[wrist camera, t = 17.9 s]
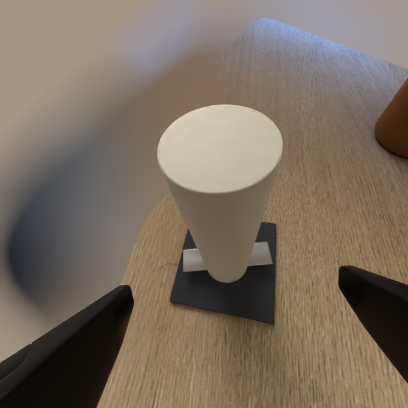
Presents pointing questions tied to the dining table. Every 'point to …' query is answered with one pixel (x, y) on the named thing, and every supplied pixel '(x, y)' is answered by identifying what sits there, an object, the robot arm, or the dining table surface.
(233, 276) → the white tall round cylinder
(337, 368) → the dining table surface
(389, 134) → the mug
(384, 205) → the dining table surface
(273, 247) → the rubber mat
